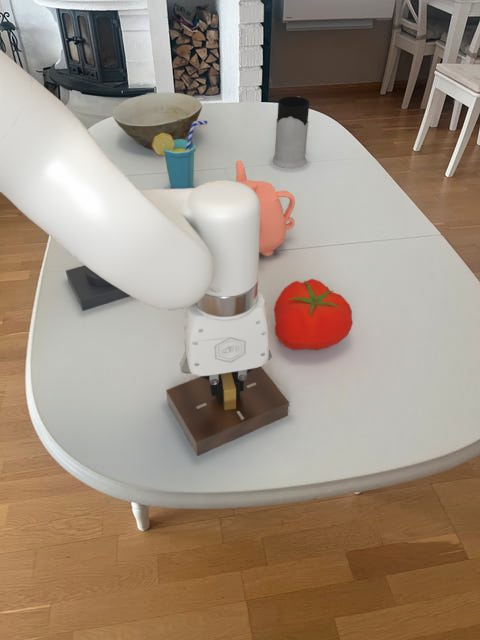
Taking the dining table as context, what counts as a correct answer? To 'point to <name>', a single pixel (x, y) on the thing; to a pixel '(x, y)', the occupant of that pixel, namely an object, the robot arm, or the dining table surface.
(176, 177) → the cup
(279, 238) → the teapot
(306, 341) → the tomato
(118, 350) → the dining table surface
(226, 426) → the plate
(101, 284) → the button box
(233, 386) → the lock knob
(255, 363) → the robot arm
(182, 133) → the bowl
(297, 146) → the glass holder
